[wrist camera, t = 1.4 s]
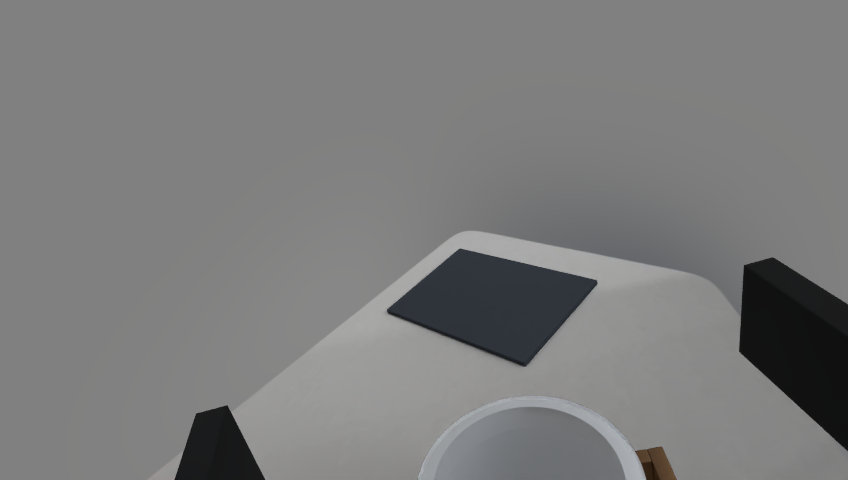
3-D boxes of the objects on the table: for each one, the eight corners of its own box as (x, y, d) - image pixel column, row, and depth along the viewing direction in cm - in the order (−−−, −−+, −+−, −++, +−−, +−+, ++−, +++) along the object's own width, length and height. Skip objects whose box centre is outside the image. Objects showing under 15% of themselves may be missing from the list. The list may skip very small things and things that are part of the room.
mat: (597, 283, 59) (597, 280, 59) (525, 366, 52) (524, 362, 51) (460, 251, 73) (459, 248, 73) (387, 313, 66) (386, 309, 65)
